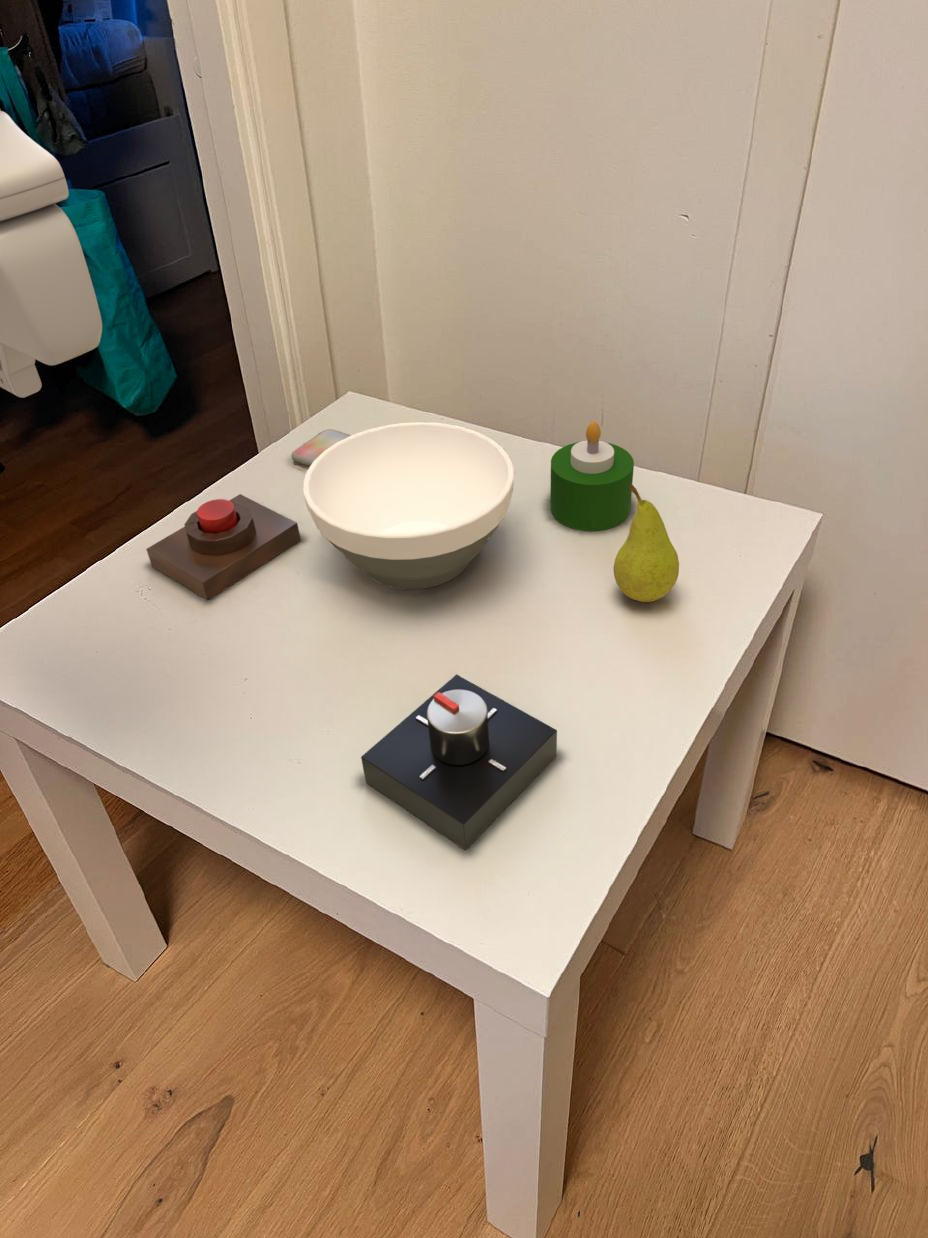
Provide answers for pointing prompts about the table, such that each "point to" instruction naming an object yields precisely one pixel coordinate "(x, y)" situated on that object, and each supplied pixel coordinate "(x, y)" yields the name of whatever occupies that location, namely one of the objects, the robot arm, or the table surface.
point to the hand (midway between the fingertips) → (19, 388)
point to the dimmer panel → (460, 767)
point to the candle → (591, 483)
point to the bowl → (410, 500)
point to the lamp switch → (223, 548)
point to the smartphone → (317, 446)
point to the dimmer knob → (458, 726)
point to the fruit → (646, 556)
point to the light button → (217, 516)
